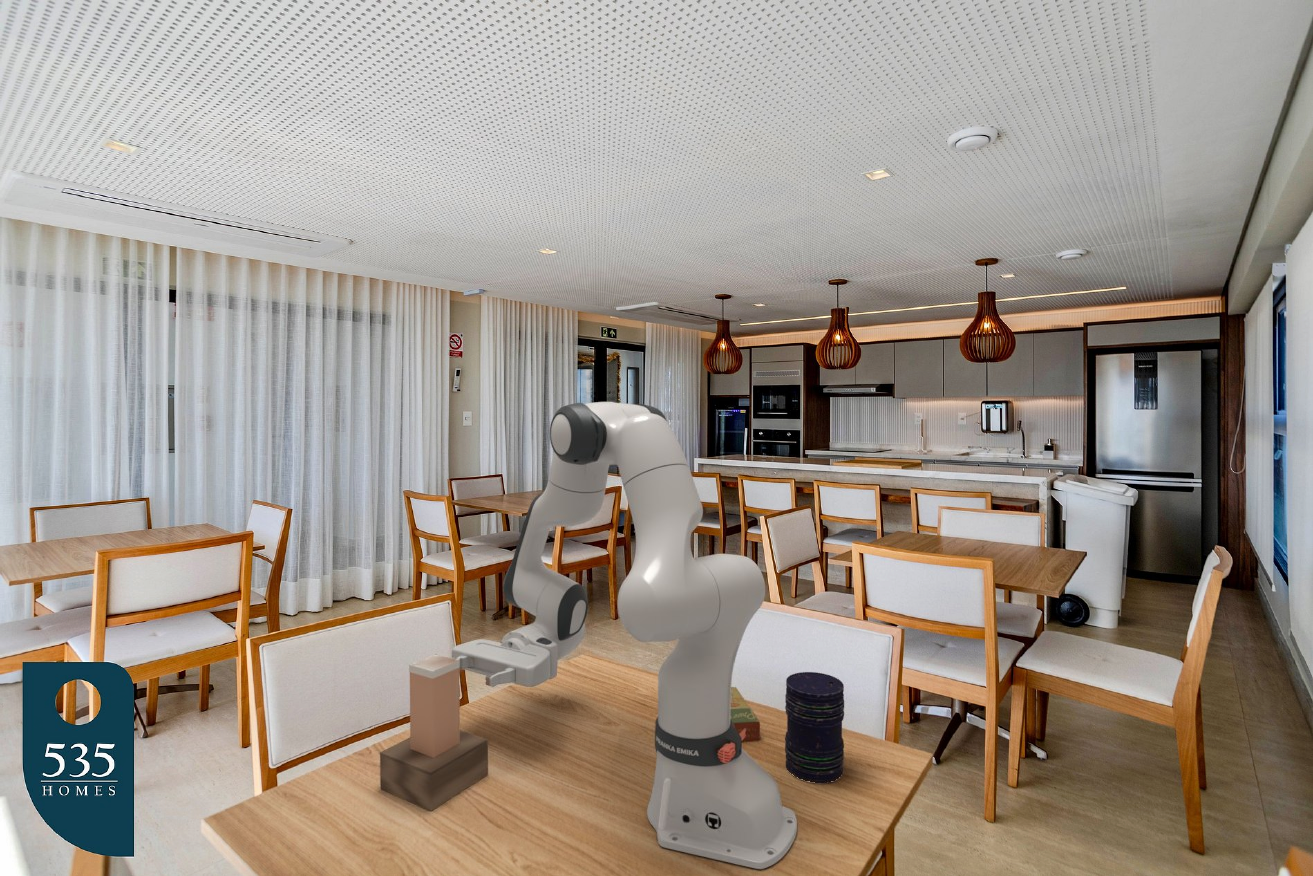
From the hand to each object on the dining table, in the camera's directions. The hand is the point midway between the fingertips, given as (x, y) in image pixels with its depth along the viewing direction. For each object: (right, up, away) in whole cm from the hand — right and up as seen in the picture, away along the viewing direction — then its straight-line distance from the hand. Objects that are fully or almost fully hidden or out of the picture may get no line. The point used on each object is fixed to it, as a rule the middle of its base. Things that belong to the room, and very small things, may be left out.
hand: (468, 676), depth 114 cm
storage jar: (+60, -15, -2) cm, 62 cm away
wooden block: (-4, -15, -6) cm, 17 cm away
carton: (+47, -15, +15) cm, 52 cm away
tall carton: (-4, -9, -6) cm, 12 cm away
